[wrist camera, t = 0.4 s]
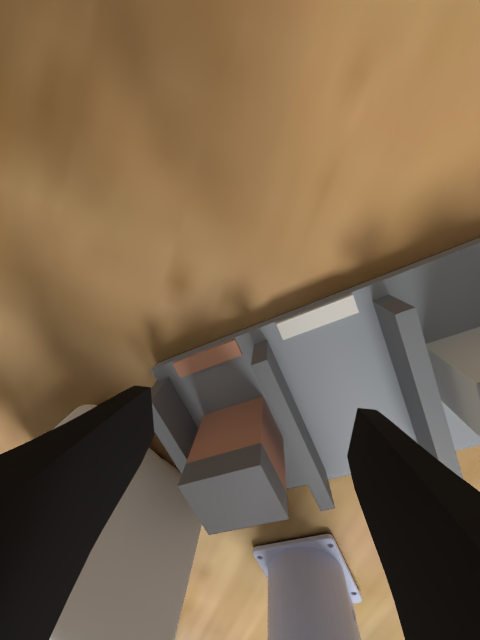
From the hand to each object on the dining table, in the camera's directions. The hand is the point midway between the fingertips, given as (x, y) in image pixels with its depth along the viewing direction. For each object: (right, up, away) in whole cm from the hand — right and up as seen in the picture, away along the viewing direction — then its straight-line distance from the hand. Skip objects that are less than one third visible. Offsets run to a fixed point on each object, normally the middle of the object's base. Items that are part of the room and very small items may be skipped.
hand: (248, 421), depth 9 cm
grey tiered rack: (+7, -1, +10) cm, 12 cm away
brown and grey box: (0, -5, +11) cm, 12 cm away
